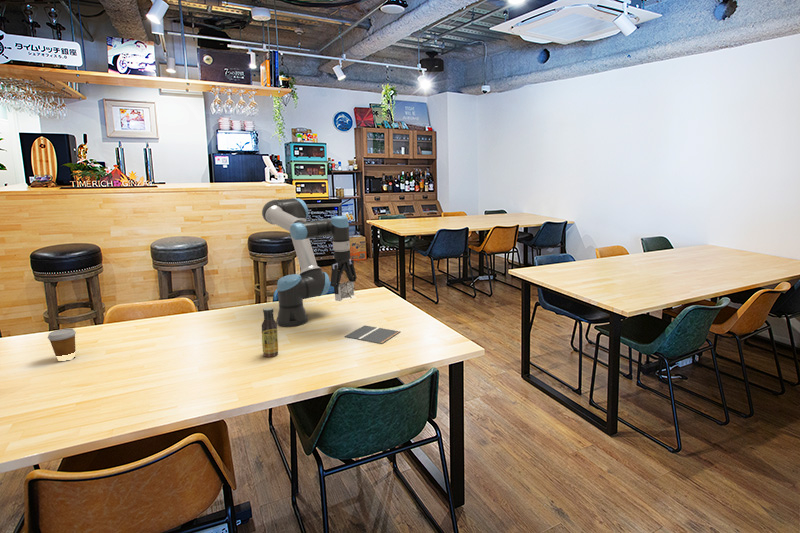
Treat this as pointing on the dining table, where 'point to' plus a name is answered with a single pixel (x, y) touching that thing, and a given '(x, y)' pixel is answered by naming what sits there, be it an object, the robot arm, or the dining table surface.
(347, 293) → the game die
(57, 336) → the disposable coffee cup
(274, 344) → the sauce bottle
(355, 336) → the lane mat
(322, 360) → the dining table surface
